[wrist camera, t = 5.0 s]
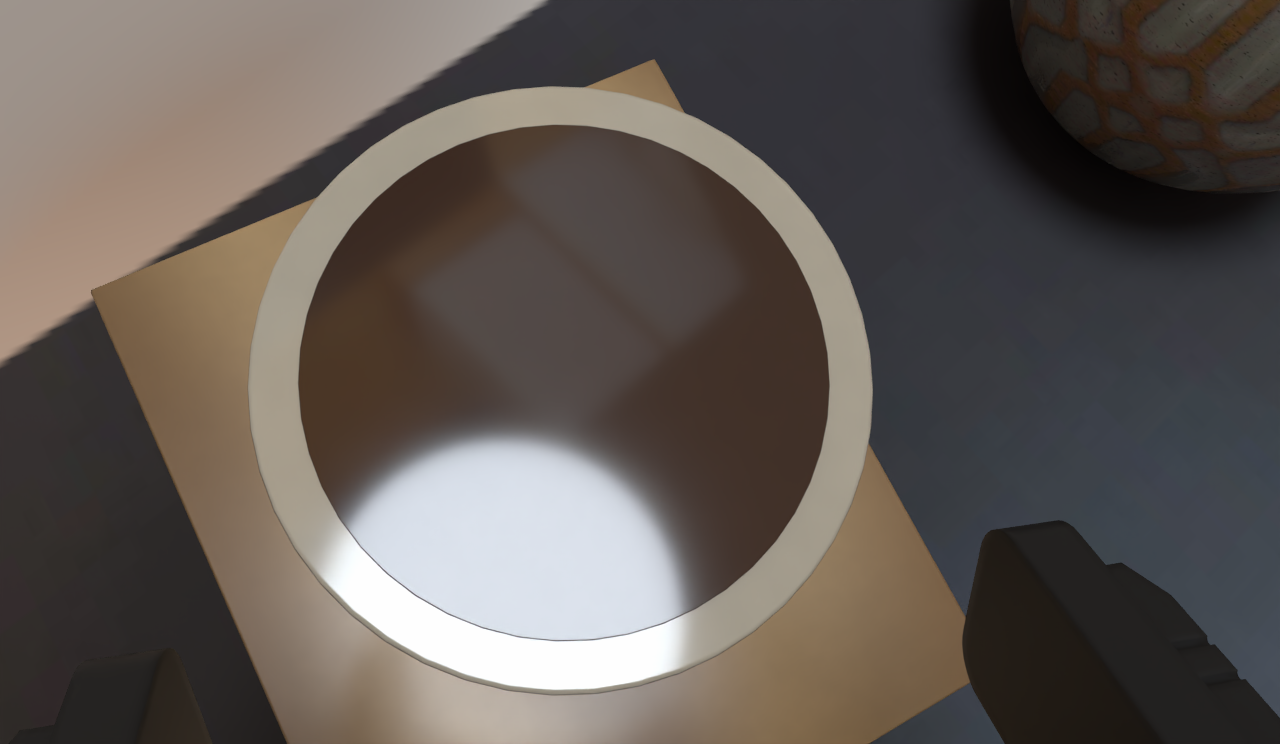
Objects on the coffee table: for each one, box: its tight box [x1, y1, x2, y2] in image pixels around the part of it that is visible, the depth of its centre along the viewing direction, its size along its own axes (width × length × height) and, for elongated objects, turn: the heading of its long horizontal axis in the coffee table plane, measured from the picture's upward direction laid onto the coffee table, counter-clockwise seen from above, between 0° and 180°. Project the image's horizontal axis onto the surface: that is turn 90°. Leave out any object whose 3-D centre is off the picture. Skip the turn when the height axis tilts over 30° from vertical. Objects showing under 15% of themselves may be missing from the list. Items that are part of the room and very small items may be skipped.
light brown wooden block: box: [91, 60, 970, 744], centre depth 23 cm, size 12×14×9 cm
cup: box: [247, 87, 873, 695], centre depth 15 cm, size 6×6×9 cm
